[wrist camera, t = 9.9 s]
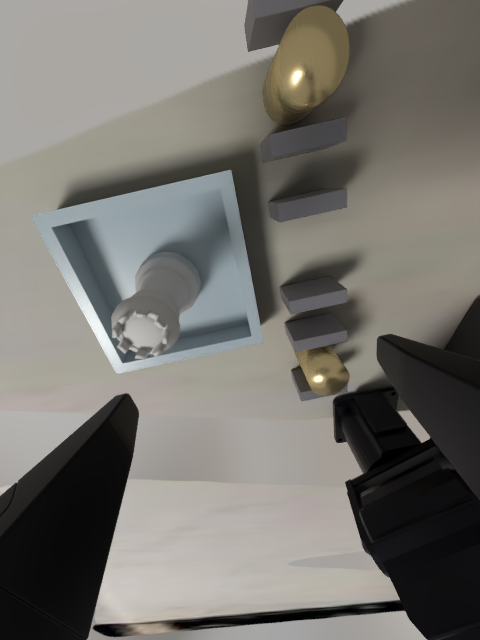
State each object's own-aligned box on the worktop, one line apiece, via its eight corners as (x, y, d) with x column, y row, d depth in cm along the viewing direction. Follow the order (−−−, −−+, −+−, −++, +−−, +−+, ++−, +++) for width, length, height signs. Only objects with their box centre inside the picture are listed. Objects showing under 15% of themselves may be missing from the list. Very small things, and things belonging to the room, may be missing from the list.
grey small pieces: (333, 369, 24) (347, 391, 22) (292, 378, 24) (301, 401, 22) (320, 7, 13) (345, -39, 10) (244, 26, 13) (250, -16, 11)
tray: (259, 327, 22) (263, 342, 19) (127, 355, 22) (116, 373, 20) (229, 172, 16) (231, 169, 14) (55, 212, 17) (29, 215, 14)
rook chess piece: (209, 263, 18) (203, 311, 11) (190, 316, 20) (175, 385, 13) (147, 239, 17) (96, 275, 10) (133, 297, 19) (81, 361, 12)
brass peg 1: (315, 119, 15) (349, 94, 11) (266, 130, 15) (283, 110, 11) (312, 51, 14) (349, -4, 10) (258, 64, 14) (274, 15, 10)
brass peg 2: (327, 357, 24) (349, 391, 20) (295, 363, 24) (311, 399, 20) (326, 329, 22) (349, 360, 18) (292, 337, 22) (308, 369, 18)
